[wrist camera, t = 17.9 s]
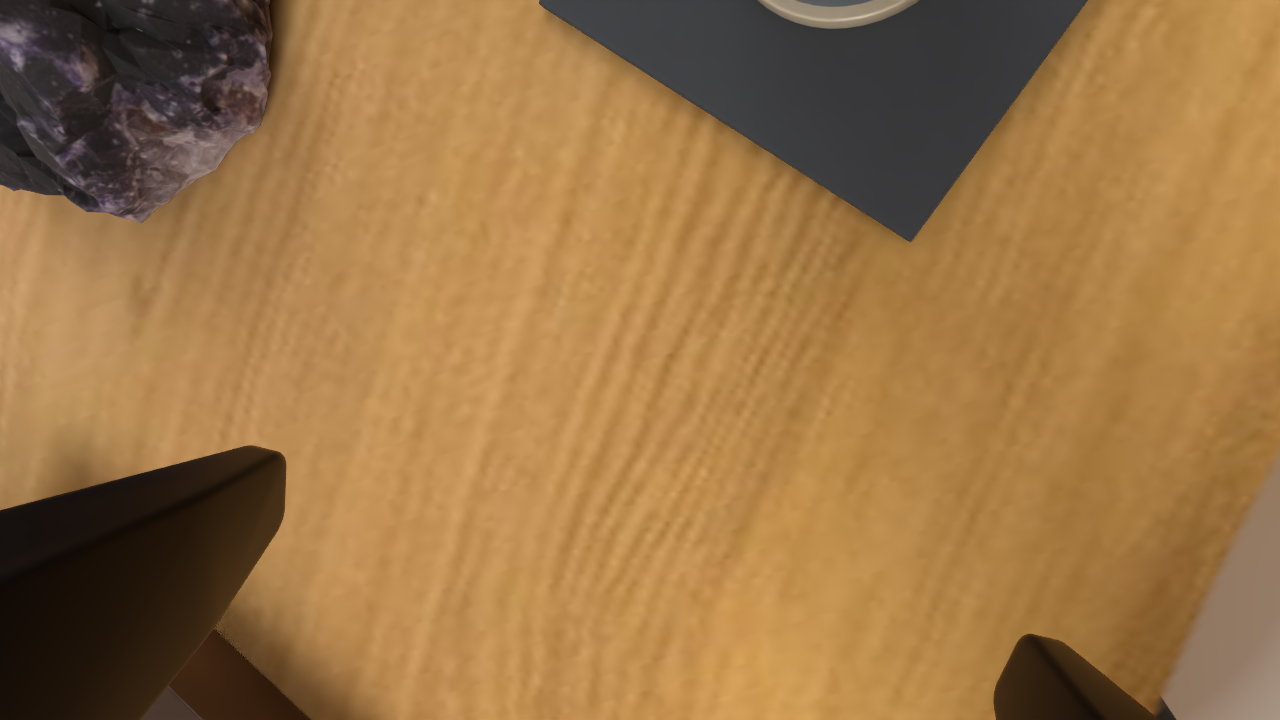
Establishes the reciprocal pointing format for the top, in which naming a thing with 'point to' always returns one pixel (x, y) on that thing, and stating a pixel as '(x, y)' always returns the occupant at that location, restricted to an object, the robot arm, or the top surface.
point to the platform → (221, 689)
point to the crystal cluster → (127, 95)
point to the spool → (836, 11)
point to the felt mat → (843, 84)
